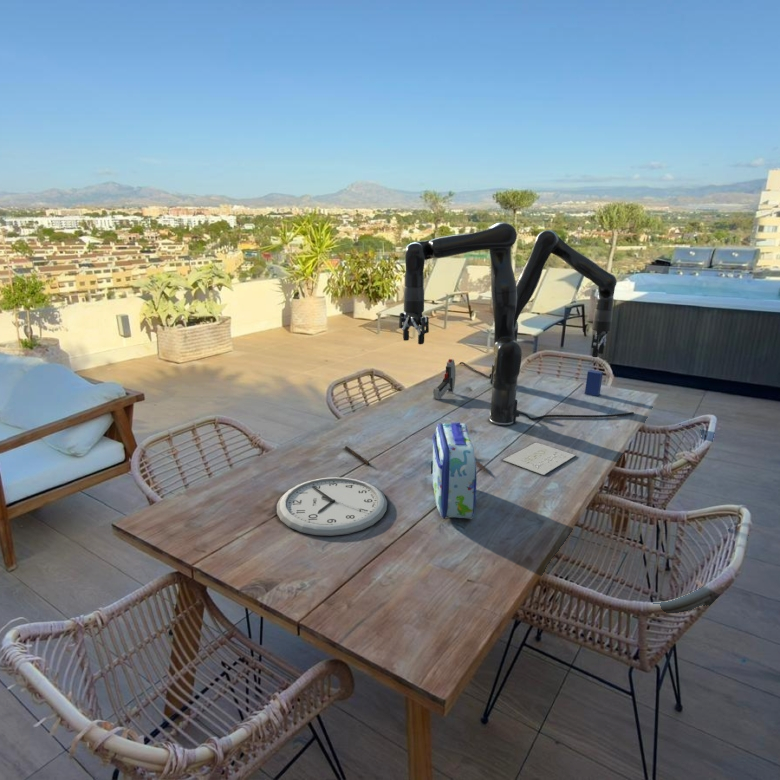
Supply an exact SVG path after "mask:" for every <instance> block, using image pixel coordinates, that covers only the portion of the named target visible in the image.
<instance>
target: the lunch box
mask: <svg viewBox="0 0 780 780" xmlns="http://www.w3.org/2000/svg"><path fill="white" fill-rule="evenodd" d="M467 427H468V426H467V424H466V423H461V422H450V423H441V422H439V423H437V424H436V428H435V433H433V435H432V460H431V461H430V465H431V466H430V474H431V475H432V488H433V492H434V501H435V505H436V508H437V511H438V513H439V515H440V517H441V518H442V519H445V520H446V518H458V519H469V520H470V519H472V518H473V517H474V515H475V511H476V501H477V479H478V477H477V476H478V475H477V464H476V461H477V460H476V456H475V449H474V446H473V445H474V444H473V442H472V440H471V438H470V435H469V431H468V428H467ZM475 460H476V461H475Z"/></svg>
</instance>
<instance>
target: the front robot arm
mask: <svg viewBox="0 0 780 780" xmlns="http://www.w3.org/2000/svg"><path fill="white" fill-rule="evenodd" d="M517 239H518V232H517V230H516V228H515V227H514V226H513V225H512V224H510V223H508V222H497V223H495V224H492V226H491V227H489V228H488V229H484V230H482V231H481V230H480V231H476V232H472V233H463V234H462V233H461V234H453V235H448V236H441V237H438V238H434V239H433V238H432V239H430V240H421V241H415V242H411V243H409V244H407V246H406V247H405V249H404V259H405V261H404V262H405V273H404V290H403V312H400V313H399V319H398V320H399V321H398V322H399V323H398V324H399V325H398V328H399V329H401V330H402V337H403V338H402V339H403V341H404V342H407V341H409V340H410V328H411V327H413V328H414V329H415V330H417V344H418V345H423V344H424V343H425V334H429V332H430V324H429V321H430V320H429V318H430V317H429V316H423V312H425V287H424V286H425V274H424V271H425V263H426V262H425V261H427V260H433V259H443V258H449V257H453V256H458V255H463V254H467V253H471V252H477V251H484V250H486V251H487V250H488V251H489V256H490V257H489V258H490V294H491V295H490V296H491V308H492V317H493V327H494V329H493V331H494V332H493V353H494V357H495V356H496V357H497V362H496V370H495V372H494V374H493V384H492V388H491V399H490V410H489V422H490V423H491V424H494V425H497V426H511V425H513V424H516V423H517V418H519V417H520V415H521V416H524V417H526V418H527V419H528V420H530V421H537V420H540V419H544V418H611V417H612V418H613V417H622V416H630V415H635V412H634V411H631V412H624V413H614V414H588V415H587V414H543V415H540V416H537V417H531V416H530V415H529V414H527V413H525V412H522V411H520V410H518V399H517V388H518V378H519V375H520V372H521V364H522V355H523V352H522V347H521V346H520V344H519V343H518V341H517V342H516V341H515V336H514V317H515V313H516V308H517V287H516V282H517V280H516V276H515V273H514V270H513V265H512V247H513V246H514V245H515V243H516V241H517Z"/></svg>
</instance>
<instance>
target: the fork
mask: <svg viewBox="0 0 780 780" xmlns="http://www.w3.org/2000/svg"><path fill="white" fill-rule="evenodd" d="M475 461H476V466H477V467H479V468H480V469H481V470H482V471H483V472H485V473H486V474H488V470H486V468H485V467H484V466H483V464H482V463H480V462H479V461H477V460H476V459H475Z"/></svg>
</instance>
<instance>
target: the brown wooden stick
mask: <svg viewBox="0 0 780 780" xmlns="http://www.w3.org/2000/svg"><path fill="white" fill-rule="evenodd" d="M344 449H345V450H346V451H348V452H349V453H350V454H352V455H353V456H355V457H356V458H358V459H359V460H361V461H362V462H363V463H364V464H366V465H370V461H368V460H367V459H366V458H364V457H363V456H361V455H360V454H358V453H357V452H356V451H354V450H353V449H352V448H350V447H348V446H347V445H345V446H344Z"/></svg>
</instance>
